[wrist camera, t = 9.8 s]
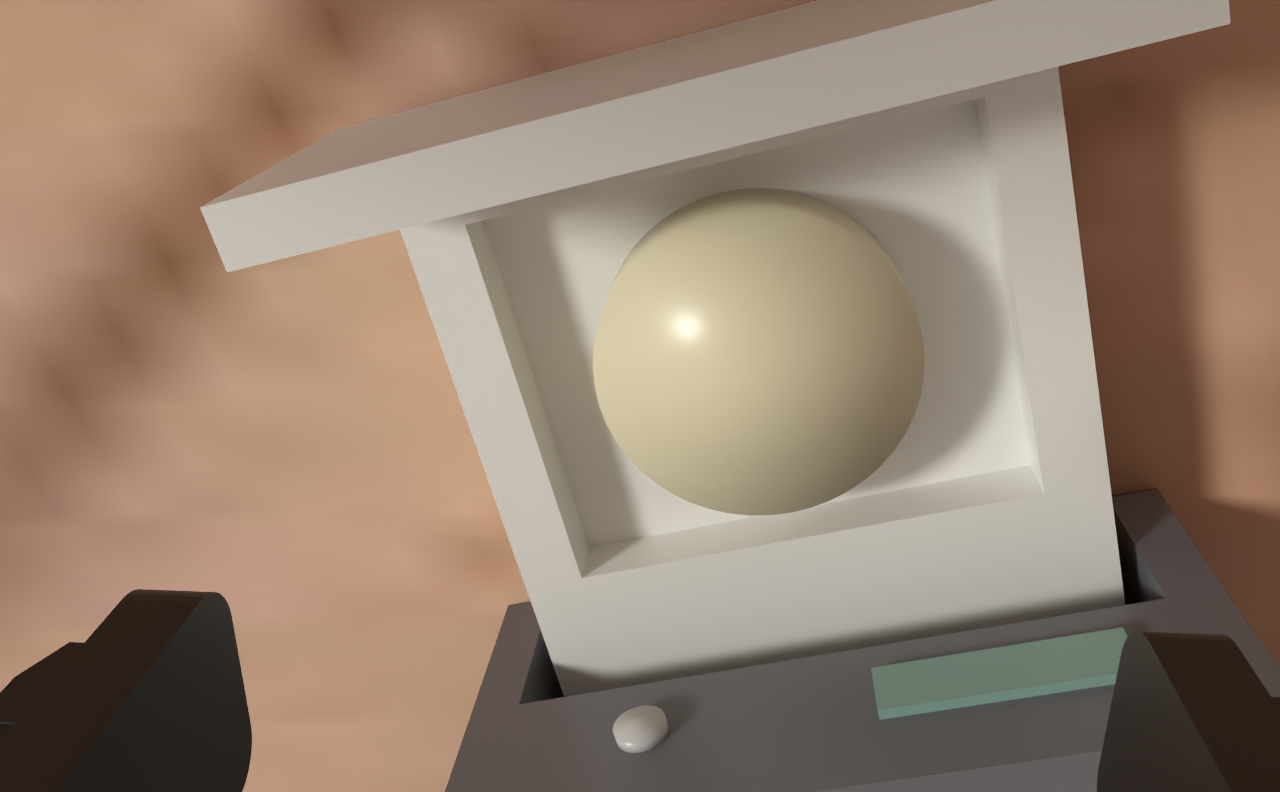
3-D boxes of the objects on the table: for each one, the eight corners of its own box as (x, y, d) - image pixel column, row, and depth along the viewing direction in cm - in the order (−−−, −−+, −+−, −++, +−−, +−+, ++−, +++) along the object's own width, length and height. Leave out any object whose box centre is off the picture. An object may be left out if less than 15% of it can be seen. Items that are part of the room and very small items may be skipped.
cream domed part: (566, 229, 22) (553, 253, 20) (882, 153, 21) (892, 172, 19) (647, 501, 24) (640, 540, 23) (936, 445, 23) (950, 482, 22)
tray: (340, 127, 22) (200, 207, 17) (1087, -73, 20) (1224, -59, 14) (547, 704, 27) (495, 916, 22) (1163, 604, 25) (1285, 814, 19)
